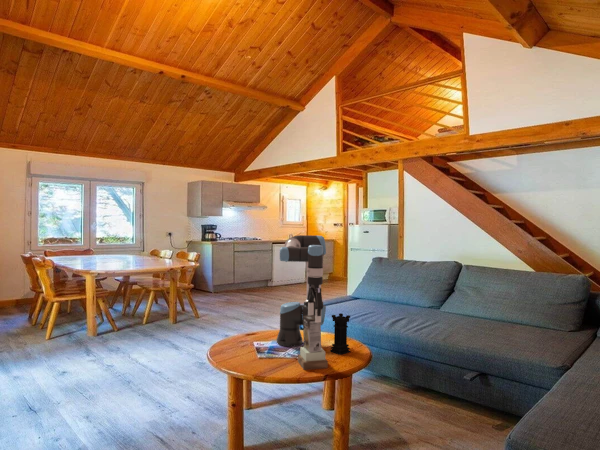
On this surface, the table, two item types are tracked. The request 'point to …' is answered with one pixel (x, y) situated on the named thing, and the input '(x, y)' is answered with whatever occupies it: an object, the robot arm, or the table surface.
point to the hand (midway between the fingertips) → (314, 318)
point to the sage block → (312, 355)
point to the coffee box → (311, 334)
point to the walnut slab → (312, 364)
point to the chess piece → (340, 335)
